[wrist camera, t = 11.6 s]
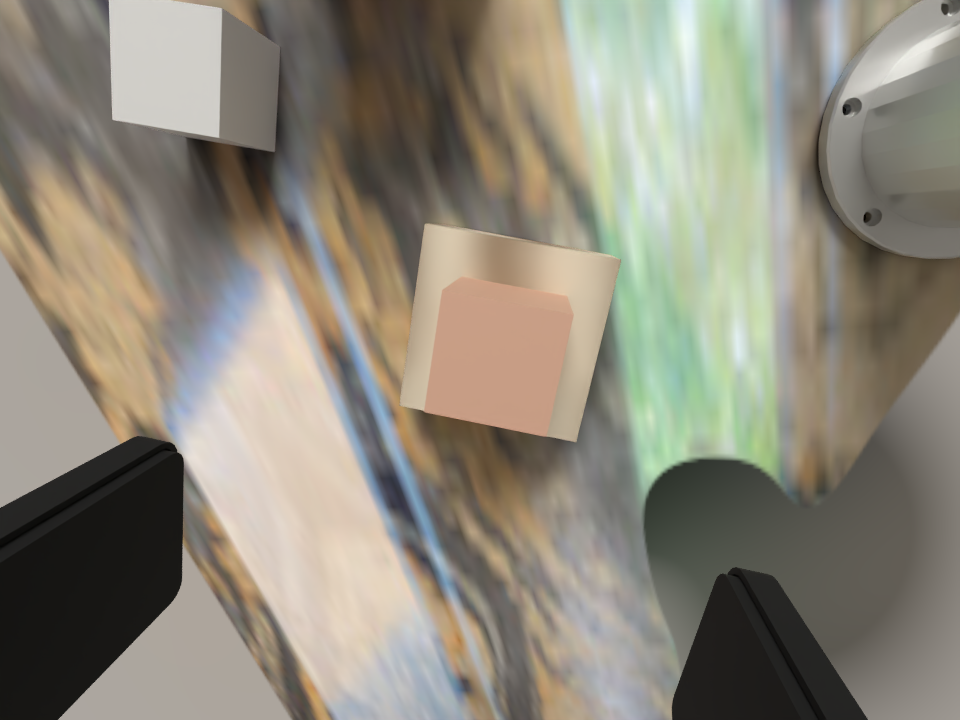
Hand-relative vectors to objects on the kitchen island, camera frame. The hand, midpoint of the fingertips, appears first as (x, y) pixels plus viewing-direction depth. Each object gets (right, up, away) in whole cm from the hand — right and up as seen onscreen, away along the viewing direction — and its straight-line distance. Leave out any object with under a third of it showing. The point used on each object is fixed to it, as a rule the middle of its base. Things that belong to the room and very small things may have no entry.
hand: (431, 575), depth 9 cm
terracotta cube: (+2, +5, +18) cm, 19 cm away
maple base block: (+3, +6, +22) cm, 23 cm away
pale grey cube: (-13, +19, +21) cm, 31 cm away
